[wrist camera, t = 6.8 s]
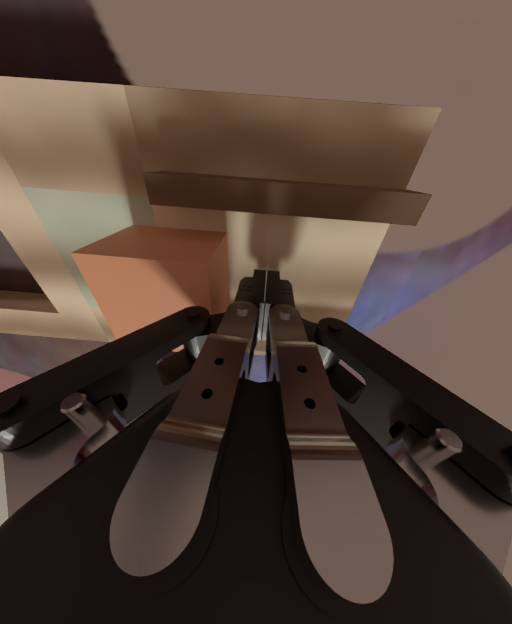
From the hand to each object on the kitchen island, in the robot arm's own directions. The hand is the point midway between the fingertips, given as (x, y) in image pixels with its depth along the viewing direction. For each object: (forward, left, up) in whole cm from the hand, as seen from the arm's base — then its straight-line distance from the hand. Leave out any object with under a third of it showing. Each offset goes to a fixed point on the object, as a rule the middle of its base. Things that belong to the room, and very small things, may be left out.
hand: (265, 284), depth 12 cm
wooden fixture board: (0, -11, -4) cm, 12 cm away
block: (0, -5, -1) cm, 5 cm away
